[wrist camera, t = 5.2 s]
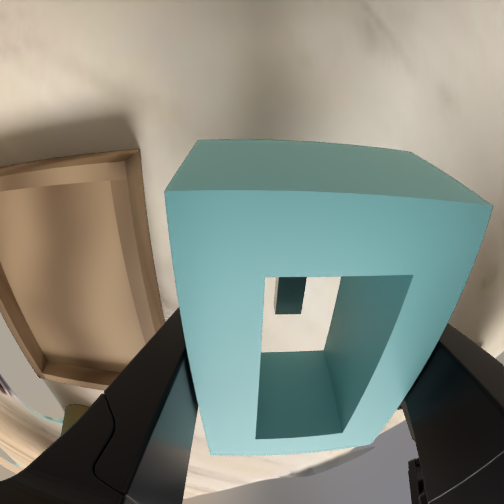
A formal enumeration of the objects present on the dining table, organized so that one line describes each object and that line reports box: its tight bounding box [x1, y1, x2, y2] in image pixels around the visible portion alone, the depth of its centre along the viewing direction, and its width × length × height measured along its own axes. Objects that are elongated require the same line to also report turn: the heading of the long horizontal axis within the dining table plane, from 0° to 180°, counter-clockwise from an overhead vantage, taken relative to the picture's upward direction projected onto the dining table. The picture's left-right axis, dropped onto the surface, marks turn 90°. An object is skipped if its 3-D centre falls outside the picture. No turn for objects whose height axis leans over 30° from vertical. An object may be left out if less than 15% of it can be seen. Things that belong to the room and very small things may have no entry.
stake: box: [274, 277, 307, 314], centre depth 12 cm, size 2×3×4 cm, turn 179°
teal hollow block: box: [164, 139, 493, 456], centre depth 8 cm, size 10×5×3 cm, turn 179°
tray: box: [0, 149, 165, 391], centre depth 15 cm, size 10×14×2 cm
